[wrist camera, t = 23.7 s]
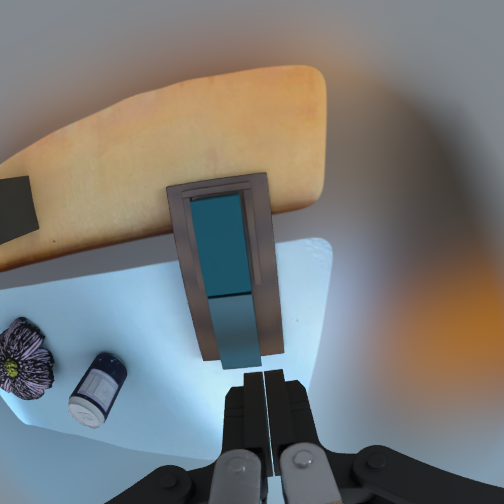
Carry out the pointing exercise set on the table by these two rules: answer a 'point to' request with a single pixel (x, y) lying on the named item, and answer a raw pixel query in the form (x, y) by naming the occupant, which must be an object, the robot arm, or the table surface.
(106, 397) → the beverage can
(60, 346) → the table surface
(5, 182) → the pad stand
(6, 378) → the decorative flower
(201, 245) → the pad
